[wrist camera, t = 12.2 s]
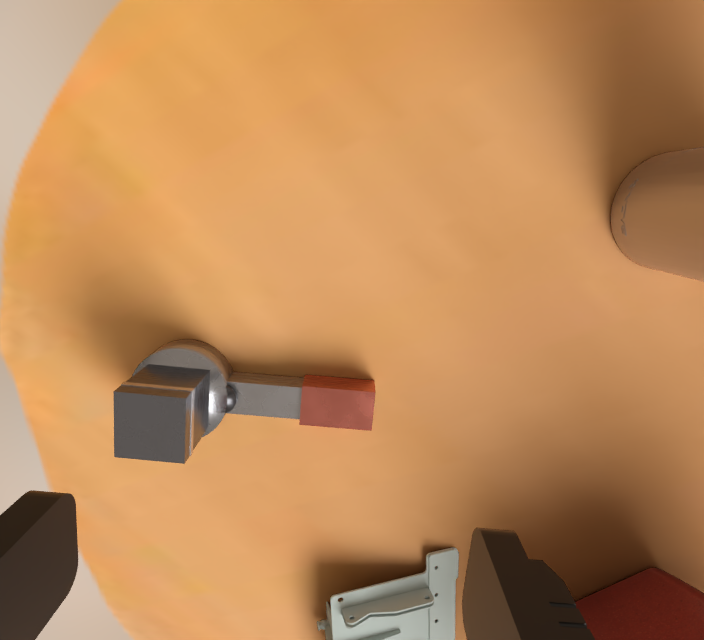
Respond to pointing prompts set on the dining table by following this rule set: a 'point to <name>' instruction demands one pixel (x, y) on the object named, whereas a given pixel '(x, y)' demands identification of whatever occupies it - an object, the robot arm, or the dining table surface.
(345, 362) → the dining table surface
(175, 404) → the grey block
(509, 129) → the dining table surface
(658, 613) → the plant pot
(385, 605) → the metal bracket
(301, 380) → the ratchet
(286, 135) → the dining table surface
